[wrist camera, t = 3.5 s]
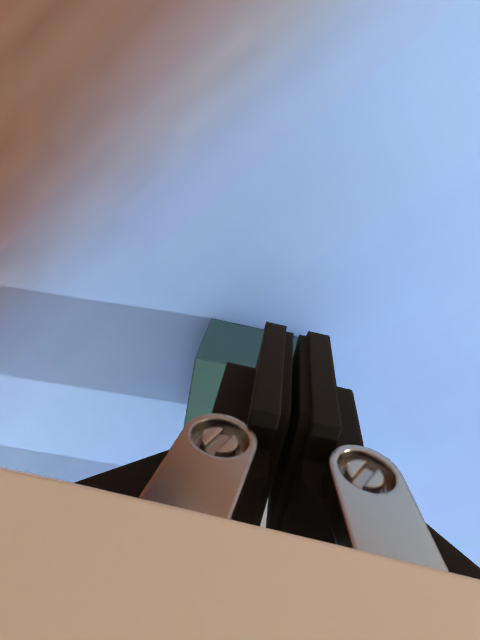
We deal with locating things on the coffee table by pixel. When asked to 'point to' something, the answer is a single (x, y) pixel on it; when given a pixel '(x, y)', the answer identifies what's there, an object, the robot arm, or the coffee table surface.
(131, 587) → the robot arm
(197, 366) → the teal block
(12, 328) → the coffee table surface
